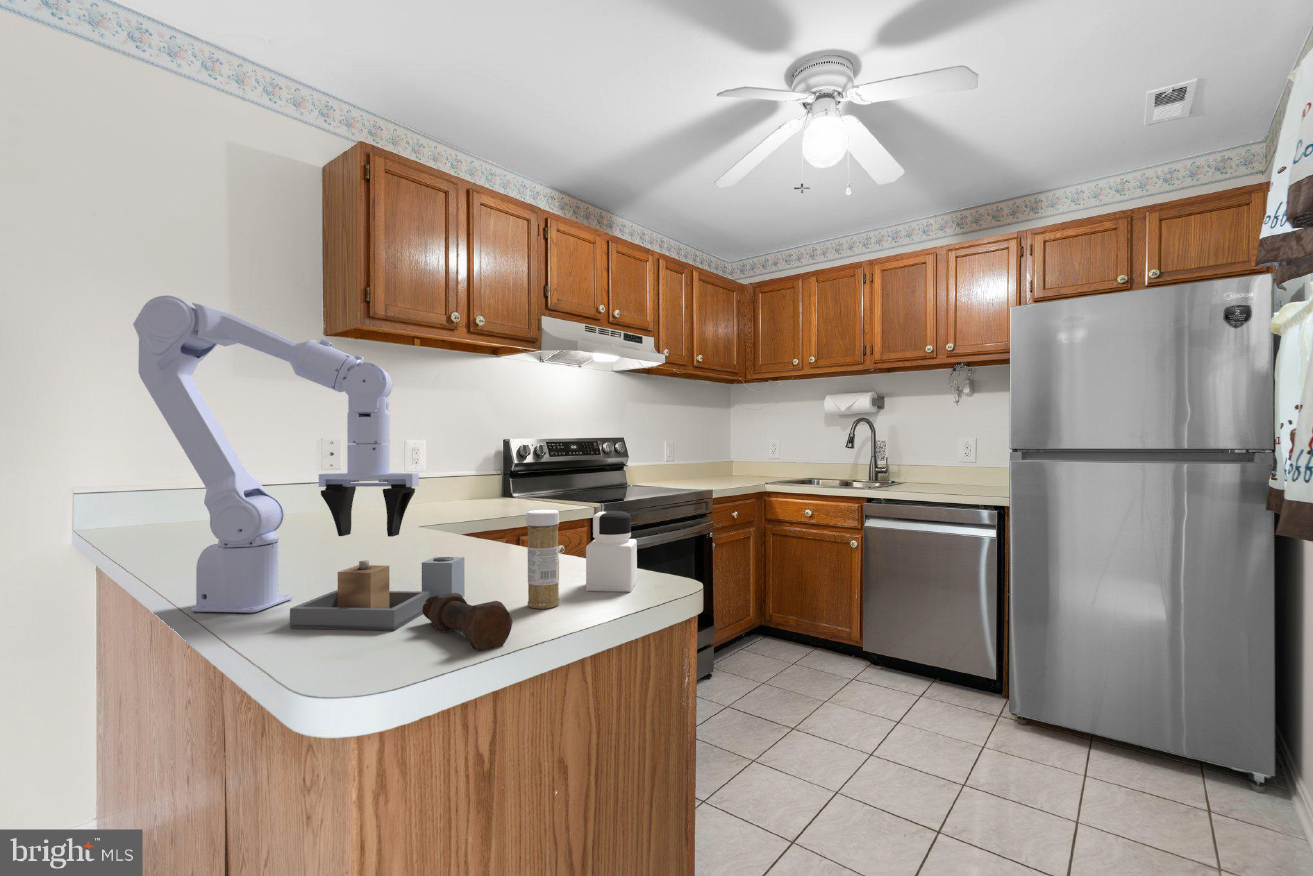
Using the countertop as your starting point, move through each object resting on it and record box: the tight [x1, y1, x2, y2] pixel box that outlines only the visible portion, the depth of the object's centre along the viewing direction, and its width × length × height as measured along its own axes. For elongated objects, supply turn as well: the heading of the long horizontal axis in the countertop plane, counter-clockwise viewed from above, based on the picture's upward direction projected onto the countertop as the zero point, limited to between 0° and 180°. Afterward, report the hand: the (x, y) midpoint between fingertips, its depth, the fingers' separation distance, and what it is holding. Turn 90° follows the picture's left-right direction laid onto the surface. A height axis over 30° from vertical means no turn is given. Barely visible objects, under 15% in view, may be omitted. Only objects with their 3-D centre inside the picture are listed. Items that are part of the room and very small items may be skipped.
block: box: [337, 560, 390, 608], centre depth 81 cm, size 4×4×7 cm
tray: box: [289, 589, 430, 632], centre depth 81 cm, size 14×10×2 cm
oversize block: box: [421, 556, 466, 598], centre depth 90 cm, size 4×4×6 cm
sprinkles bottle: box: [526, 509, 560, 610], centre depth 87 cm, size 5×5×14 cm
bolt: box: [422, 593, 514, 653], centre depth 74 cm, size 6×5×15 cm
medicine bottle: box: [585, 510, 638, 593], centre depth 98 cm, size 7×7×12 cm
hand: (368, 535), depth 91 cm, fingers open, 7 cm apart
